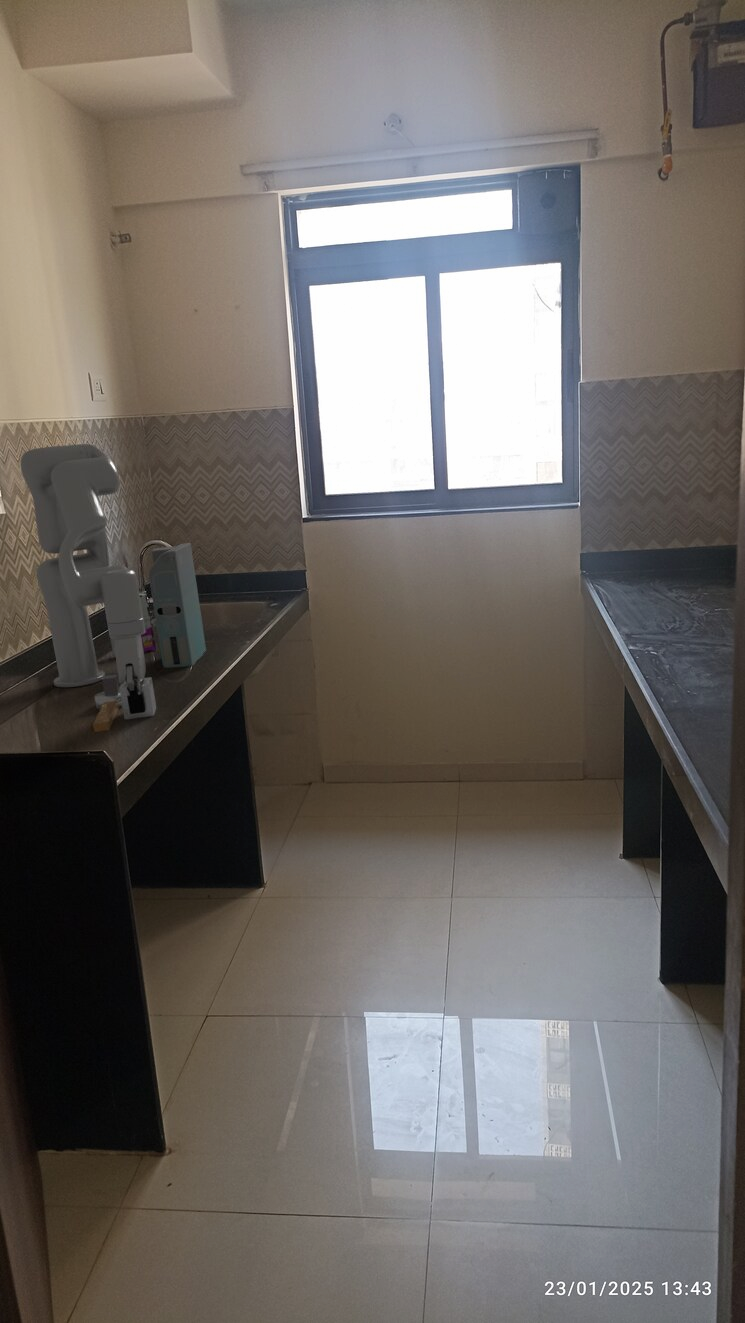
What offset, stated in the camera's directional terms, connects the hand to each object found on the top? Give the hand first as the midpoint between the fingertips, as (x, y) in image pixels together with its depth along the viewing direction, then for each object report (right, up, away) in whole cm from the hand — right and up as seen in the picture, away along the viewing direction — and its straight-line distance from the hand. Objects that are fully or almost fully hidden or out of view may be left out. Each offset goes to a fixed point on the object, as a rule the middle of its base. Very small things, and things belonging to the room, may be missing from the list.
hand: (139, 707), depth 201 cm
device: (0, +10, +47) cm, 49 cm away
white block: (0, -1, 0) cm, 1 cm away
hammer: (-7, -2, +2) cm, 8 cm away
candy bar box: (-17, +12, +60) cm, 64 cm away
